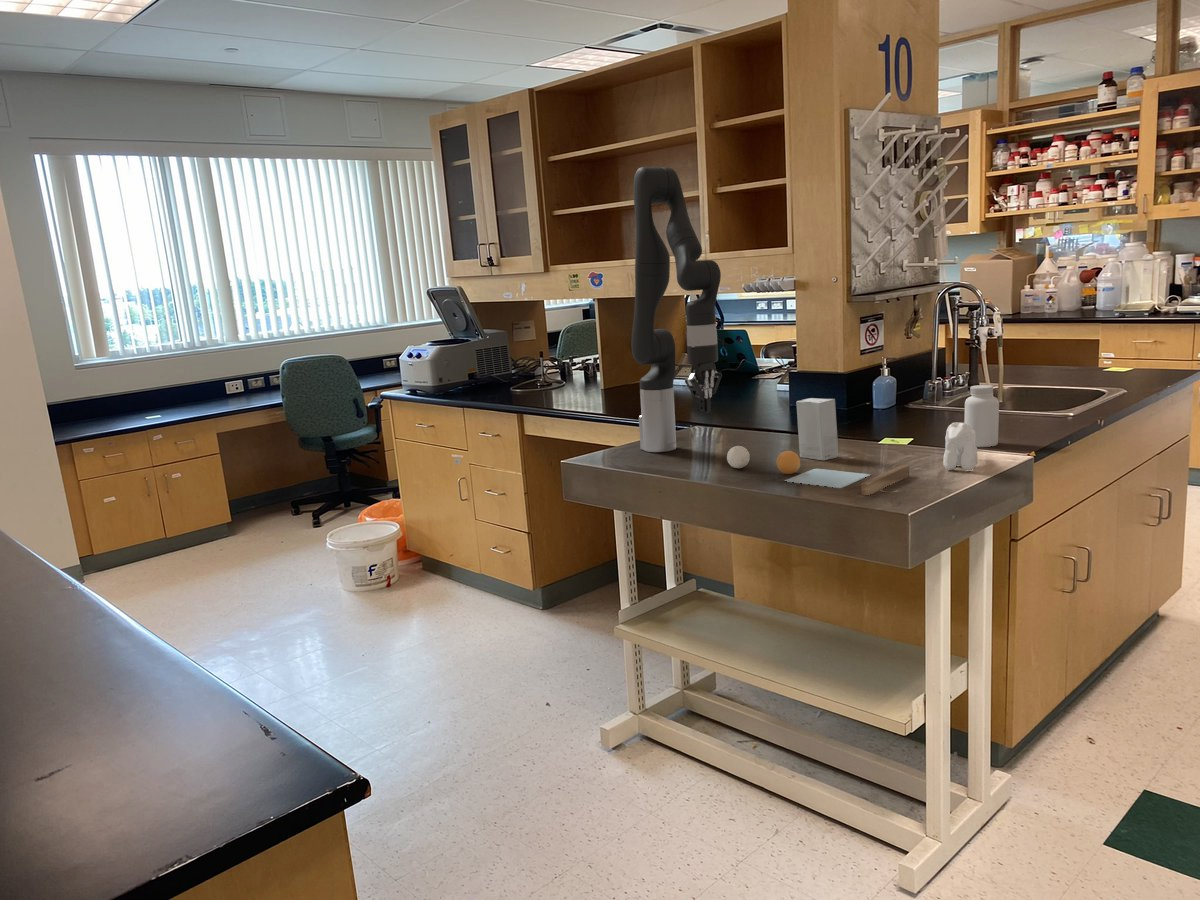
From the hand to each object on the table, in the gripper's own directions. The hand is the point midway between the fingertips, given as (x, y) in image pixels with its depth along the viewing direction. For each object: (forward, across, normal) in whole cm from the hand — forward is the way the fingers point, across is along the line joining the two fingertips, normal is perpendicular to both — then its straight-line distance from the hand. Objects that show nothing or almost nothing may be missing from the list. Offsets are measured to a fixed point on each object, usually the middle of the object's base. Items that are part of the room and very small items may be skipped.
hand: (705, 412), depth 218 cm
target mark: (+14, 0, +33) cm, 36 cm away
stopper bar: (+14, 0, +47) cm, 49 cm away
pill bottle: (+14, -50, +49) cm, 72 cm away
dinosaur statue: (+14, -23, +55) cm, 61 cm away
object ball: (+11, 0, +23) cm, 26 cm away
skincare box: (+14, -19, +20) cm, 31 cm away
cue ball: (+11, 0, +9) cm, 14 cm away
